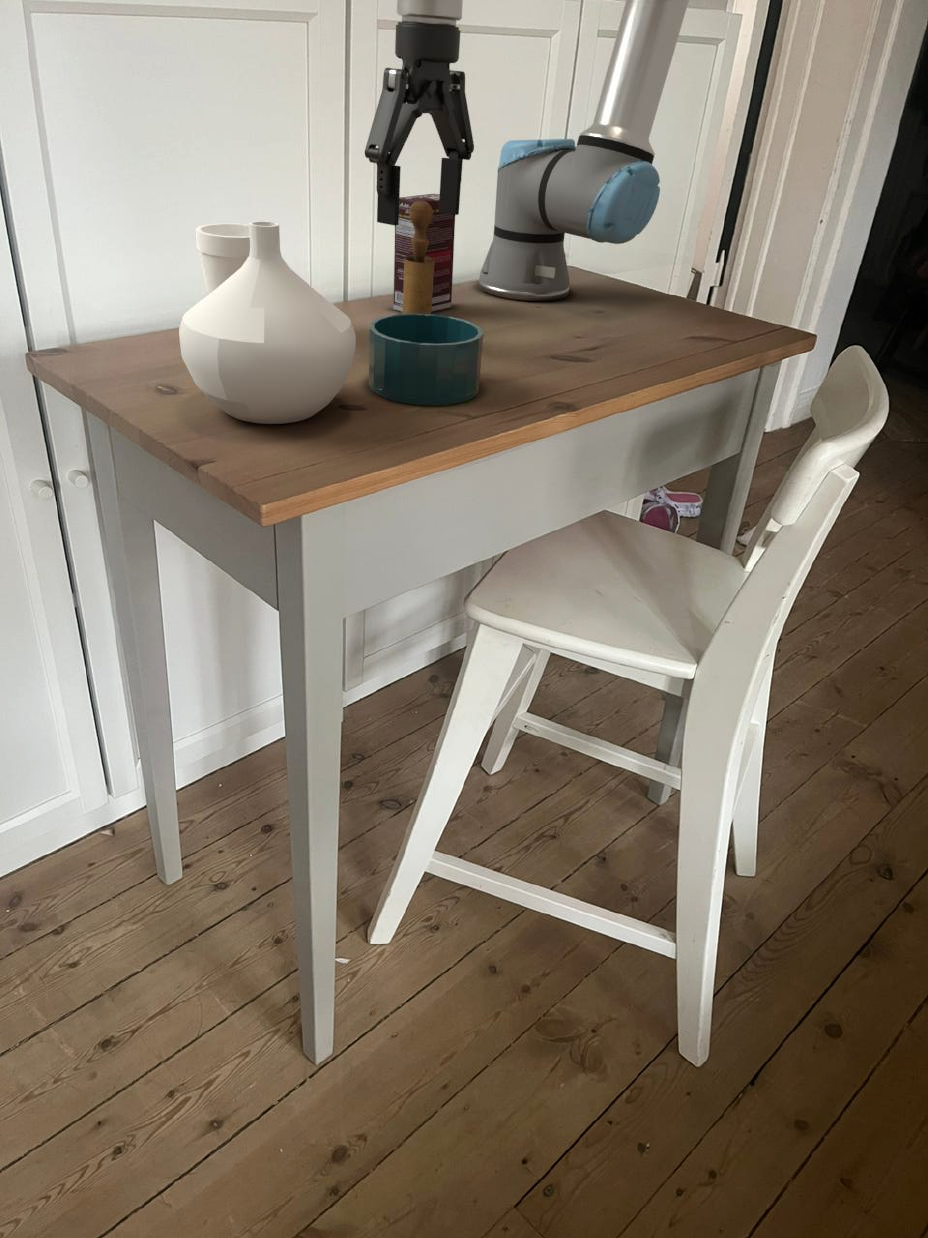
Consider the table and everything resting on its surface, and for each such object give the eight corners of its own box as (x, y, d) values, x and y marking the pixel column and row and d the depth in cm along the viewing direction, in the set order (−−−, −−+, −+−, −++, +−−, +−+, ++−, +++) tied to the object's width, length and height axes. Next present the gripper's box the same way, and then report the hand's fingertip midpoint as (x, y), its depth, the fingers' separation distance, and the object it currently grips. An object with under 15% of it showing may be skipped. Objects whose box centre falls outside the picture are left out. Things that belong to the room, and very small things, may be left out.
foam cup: (190, 336, 125) (182, 231, 118) (222, 319, 133) (215, 220, 126) (257, 345, 123) (252, 240, 116) (285, 328, 131) (282, 228, 124)
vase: (158, 395, 105) (139, 211, 95) (304, 373, 115) (300, 204, 105) (231, 452, 93) (218, 248, 83) (386, 421, 103) (392, 236, 93)
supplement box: (429, 301, 149) (434, 192, 141) (452, 308, 147) (458, 197, 138) (390, 309, 143) (393, 196, 135) (413, 316, 141) (418, 201, 132)
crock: (410, 362, 122) (412, 307, 118) (498, 386, 116) (503, 328, 112) (346, 387, 112) (346, 327, 108) (438, 414, 106) (442, 352, 103)
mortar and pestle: (433, 353, 126) (440, 208, 116) (386, 347, 127) (389, 202, 117) (443, 340, 131) (451, 200, 122) (398, 334, 132) (403, 195, 123)
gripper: (459, 24, 120) (448, 205, 131) (334, 12, 102) (334, 223, 113) (510, 29, 117) (494, 213, 128) (391, 17, 98) (384, 233, 110)
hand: (419, 218), depth 120 cm, fingers open, 13 cm apart
